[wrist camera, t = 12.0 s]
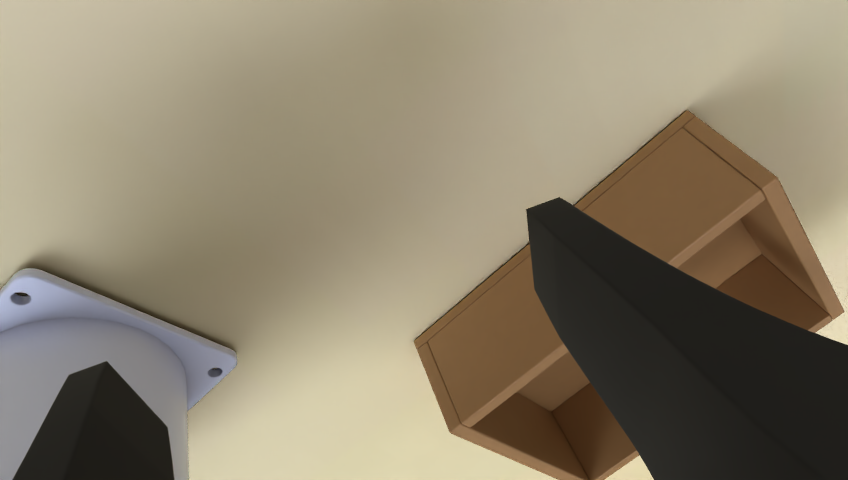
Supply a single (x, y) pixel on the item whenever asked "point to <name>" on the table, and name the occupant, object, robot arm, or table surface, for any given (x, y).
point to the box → (657, 234)
